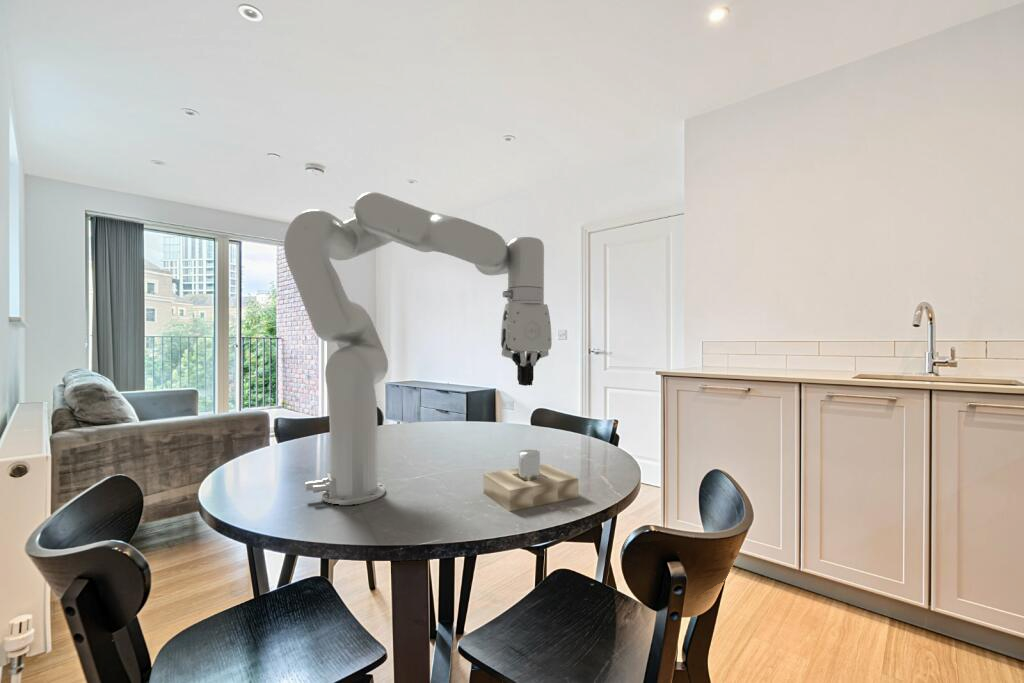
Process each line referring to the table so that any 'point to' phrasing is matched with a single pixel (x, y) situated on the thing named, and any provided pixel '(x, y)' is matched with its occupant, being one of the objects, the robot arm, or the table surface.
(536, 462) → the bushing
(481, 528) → the table surface
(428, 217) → the robot arm
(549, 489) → the jig
